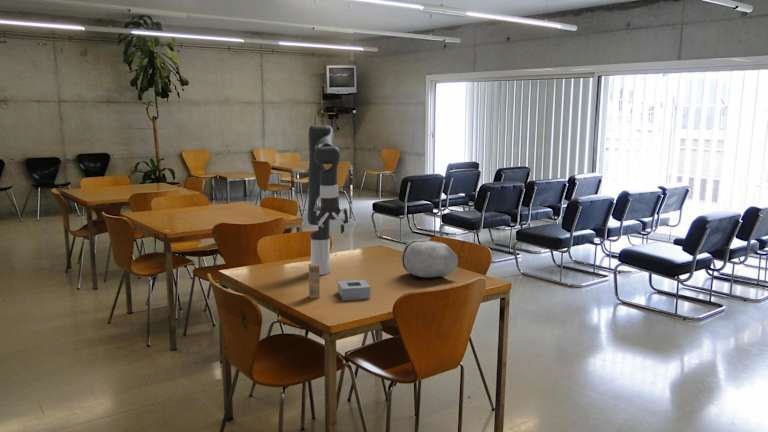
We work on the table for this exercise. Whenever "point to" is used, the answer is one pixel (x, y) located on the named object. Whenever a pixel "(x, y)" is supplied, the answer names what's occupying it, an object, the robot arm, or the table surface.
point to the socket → (353, 289)
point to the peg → (314, 281)
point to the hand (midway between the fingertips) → (331, 233)
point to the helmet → (429, 259)
